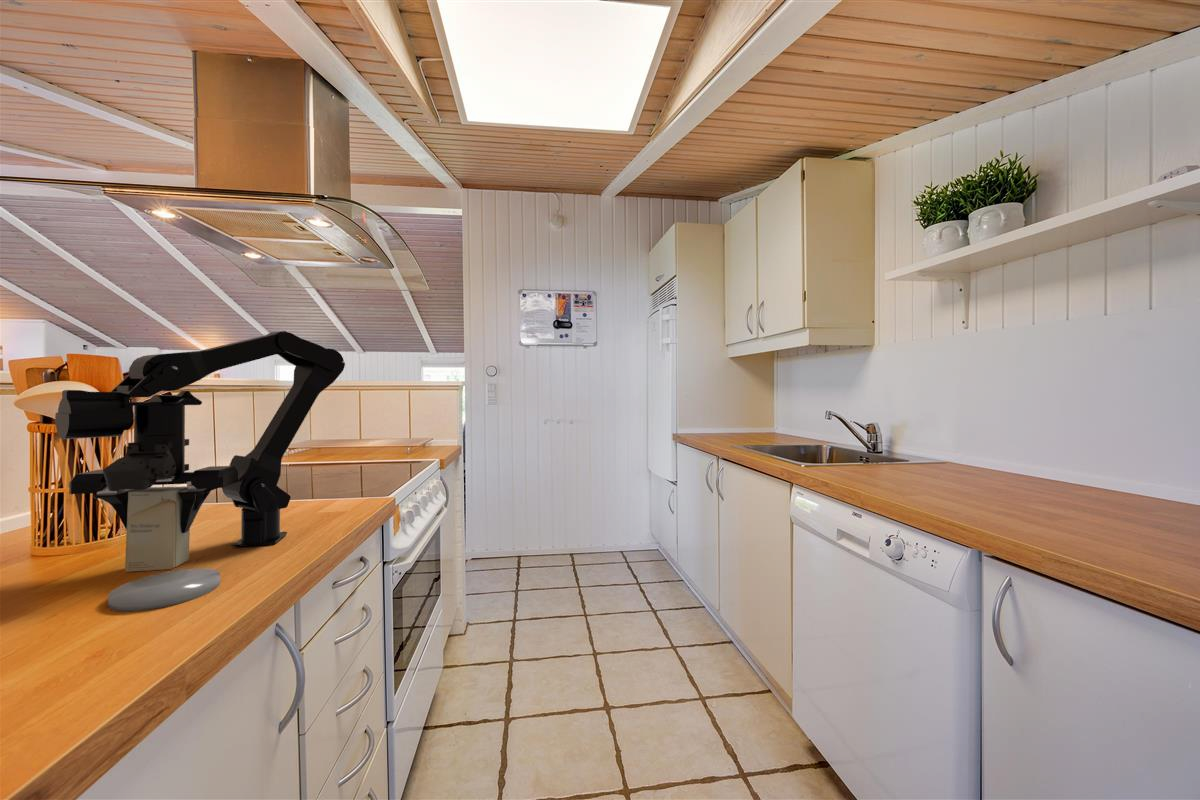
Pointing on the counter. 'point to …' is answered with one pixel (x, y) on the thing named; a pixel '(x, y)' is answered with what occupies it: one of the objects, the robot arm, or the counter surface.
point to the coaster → (163, 589)
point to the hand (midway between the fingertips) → (159, 534)
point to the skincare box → (155, 530)
